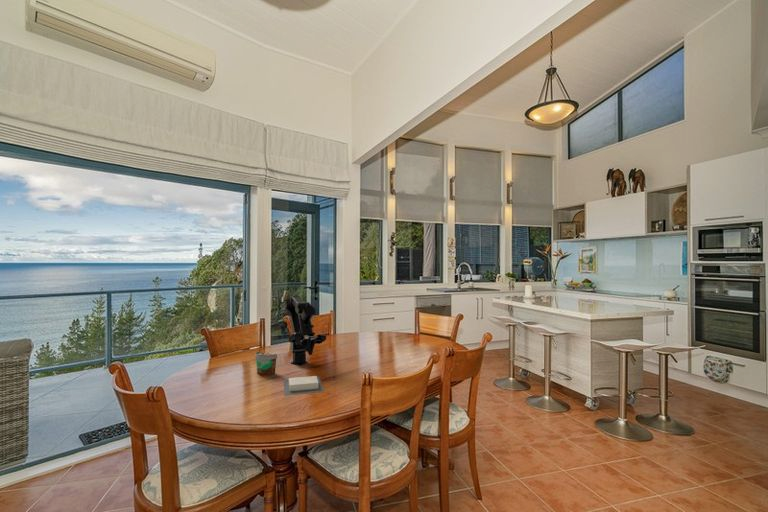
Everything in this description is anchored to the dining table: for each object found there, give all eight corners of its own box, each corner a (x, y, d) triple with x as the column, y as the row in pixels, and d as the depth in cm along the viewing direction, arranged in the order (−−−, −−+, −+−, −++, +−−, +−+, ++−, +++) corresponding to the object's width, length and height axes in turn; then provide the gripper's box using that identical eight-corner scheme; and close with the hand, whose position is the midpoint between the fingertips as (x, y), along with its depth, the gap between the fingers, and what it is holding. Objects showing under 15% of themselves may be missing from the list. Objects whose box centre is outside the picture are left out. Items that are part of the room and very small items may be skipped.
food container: (248, 374, 167) (249, 353, 167) (258, 370, 172) (259, 350, 173) (267, 378, 161) (267, 356, 161) (277, 374, 167) (277, 353, 167)
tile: (288, 378, 152) (289, 385, 144) (316, 375, 156) (318, 382, 147) (288, 384, 152) (289, 391, 144) (316, 382, 156) (318, 389, 147)
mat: (283, 380, 159) (283, 379, 159) (319, 377, 163) (319, 376, 163) (284, 396, 140) (284, 395, 140) (324, 392, 144) (324, 391, 144)
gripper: (312, 333, 186) (317, 361, 178) (281, 330, 173) (284, 361, 165) (324, 324, 180) (329, 352, 172) (293, 320, 167) (297, 351, 159)
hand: (310, 355), depth 167 cm, fingers closed
